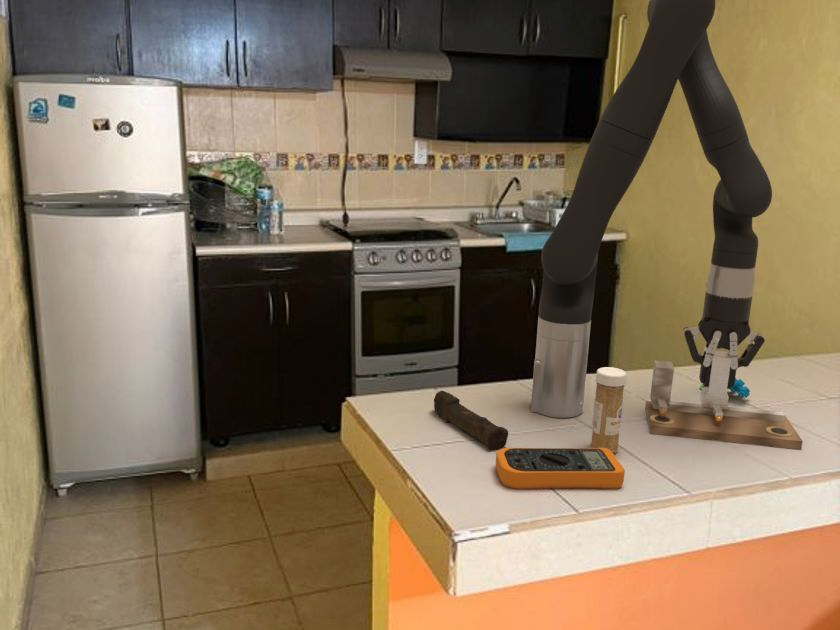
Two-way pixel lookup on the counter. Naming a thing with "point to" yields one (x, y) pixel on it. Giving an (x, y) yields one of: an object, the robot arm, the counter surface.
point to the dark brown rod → (469, 421)
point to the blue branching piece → (737, 388)
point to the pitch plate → (713, 418)
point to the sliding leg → (717, 385)
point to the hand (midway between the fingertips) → (716, 385)
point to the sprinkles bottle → (608, 408)
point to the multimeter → (559, 468)
